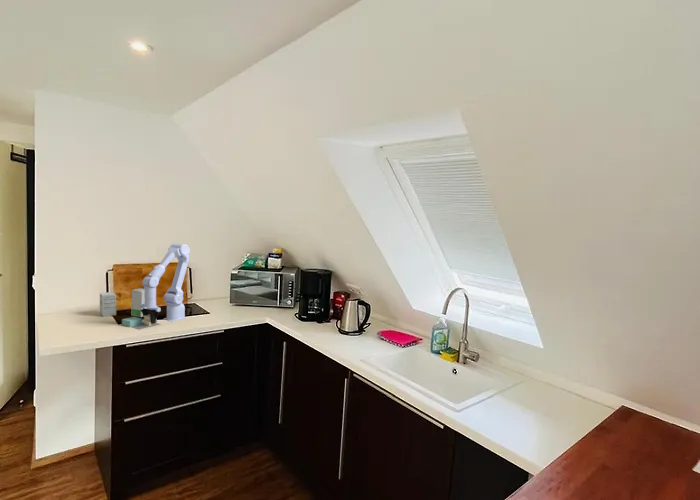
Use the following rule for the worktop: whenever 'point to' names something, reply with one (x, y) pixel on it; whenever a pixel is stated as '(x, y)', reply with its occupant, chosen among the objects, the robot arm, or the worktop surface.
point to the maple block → (148, 320)
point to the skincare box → (137, 301)
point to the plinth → (132, 321)
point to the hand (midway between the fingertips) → (150, 322)
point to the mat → (142, 325)
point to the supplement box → (108, 304)
